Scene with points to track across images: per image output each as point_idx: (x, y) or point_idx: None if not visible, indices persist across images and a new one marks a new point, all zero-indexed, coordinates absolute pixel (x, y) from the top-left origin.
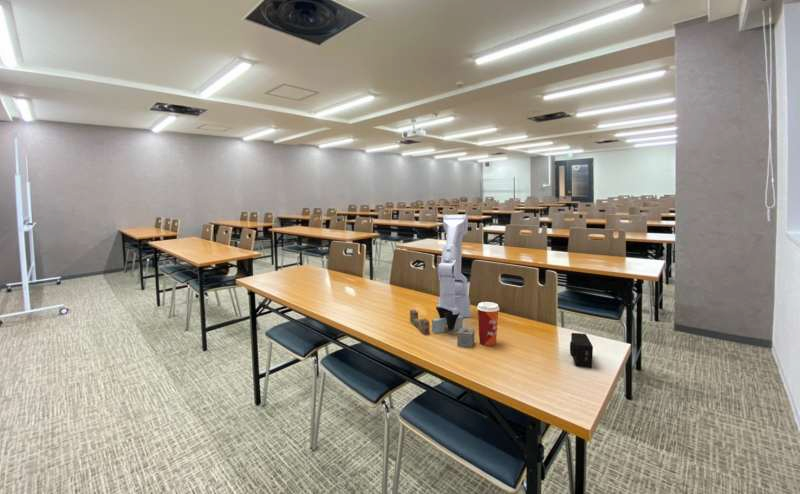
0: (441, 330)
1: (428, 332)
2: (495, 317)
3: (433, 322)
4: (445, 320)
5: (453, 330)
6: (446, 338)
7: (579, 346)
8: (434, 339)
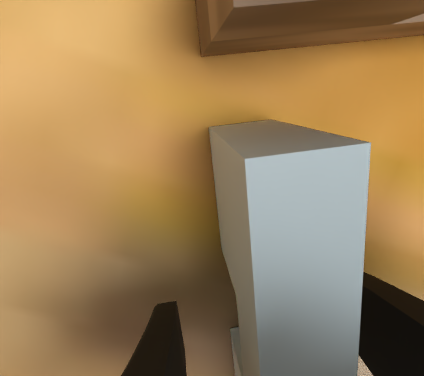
0: (221, 225)
1: (202, 37)
2: None
3: (271, 144)
4: (254, 371)
5: (231, 337)
6: (28, 220)
7: None
8: (7, 66)
